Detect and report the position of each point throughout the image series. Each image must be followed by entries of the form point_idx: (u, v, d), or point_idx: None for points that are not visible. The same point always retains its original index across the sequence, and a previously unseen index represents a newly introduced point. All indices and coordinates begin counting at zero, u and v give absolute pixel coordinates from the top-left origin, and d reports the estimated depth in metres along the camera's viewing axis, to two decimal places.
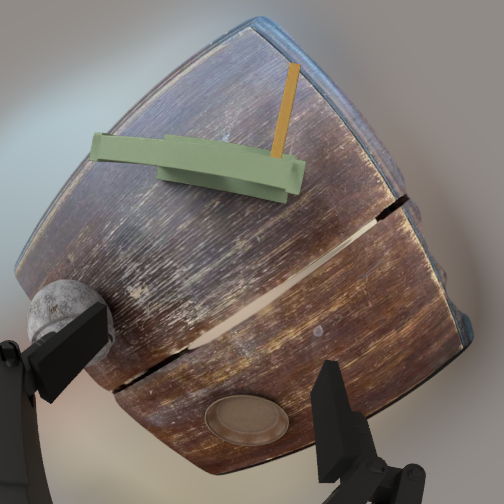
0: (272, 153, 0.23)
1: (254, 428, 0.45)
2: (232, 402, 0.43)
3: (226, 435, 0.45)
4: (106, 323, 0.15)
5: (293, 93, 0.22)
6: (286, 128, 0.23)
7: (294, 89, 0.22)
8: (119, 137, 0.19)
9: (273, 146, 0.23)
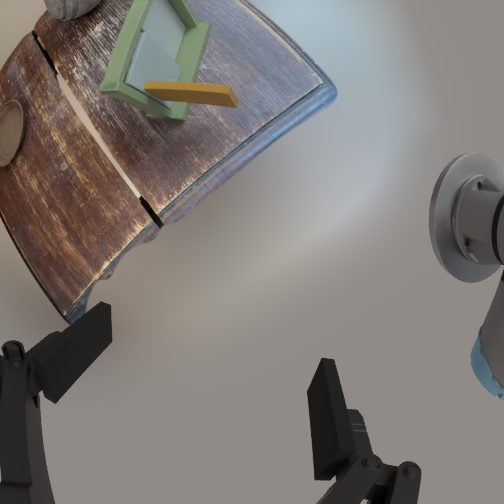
0: (151, 82, 0.25)
1: (2, 142, 0.39)
2: (20, 118, 0.37)
3: None
4: (110, 323, 0.15)
5: (199, 90, 0.25)
6: (169, 88, 0.25)
7: (202, 90, 0.25)
8: None
9: (156, 82, 0.25)
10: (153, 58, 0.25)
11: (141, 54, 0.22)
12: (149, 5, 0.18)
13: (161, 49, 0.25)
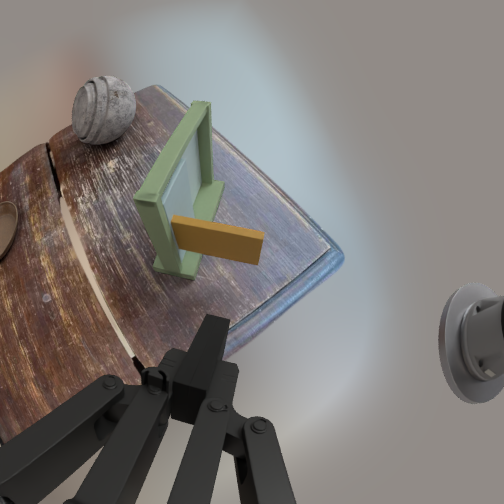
0: (179, 216, 0.29)
1: None
2: (11, 226, 0.39)
3: None
4: None
5: (232, 232, 0.29)
6: (199, 226, 0.29)
7: (236, 233, 0.29)
8: (201, 112, 0.30)
9: (185, 217, 0.29)
10: (183, 193, 0.31)
11: (177, 180, 0.28)
12: (193, 132, 0.29)
13: (189, 188, 0.33)
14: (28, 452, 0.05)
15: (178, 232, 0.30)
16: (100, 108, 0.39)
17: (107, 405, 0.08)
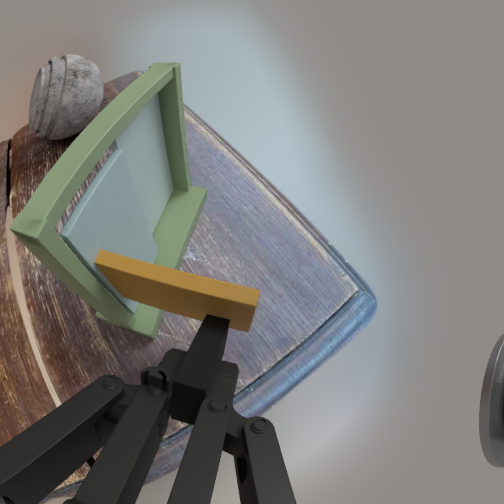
0: (109, 253, 0.15)
1: None
2: None
3: None
4: None
5: (198, 290, 0.15)
6: (140, 274, 0.15)
7: (205, 292, 0.15)
8: (161, 75, 0.16)
9: (118, 255, 0.15)
10: (122, 209, 0.17)
11: (103, 188, 0.14)
12: (141, 104, 0.15)
13: (137, 201, 0.19)
14: (28, 452, 0.05)
15: (112, 278, 0.16)
16: (53, 92, 0.26)
17: (107, 405, 0.08)
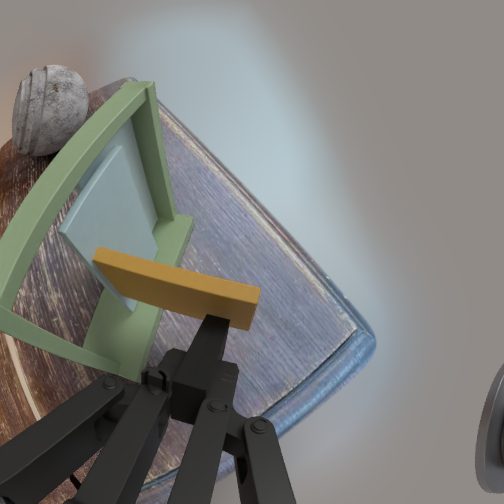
0: (107, 250, 0.15)
1: None
2: None
3: None
4: None
5: (197, 287, 0.14)
6: (138, 272, 0.14)
7: (205, 289, 0.14)
8: (129, 100, 0.14)
9: (116, 252, 0.15)
10: (121, 206, 0.17)
11: (102, 184, 0.14)
12: (104, 140, 0.13)
13: (136, 198, 0.19)
14: (28, 452, 0.05)
15: (110, 276, 0.16)
16: (33, 108, 0.23)
17: (107, 405, 0.08)
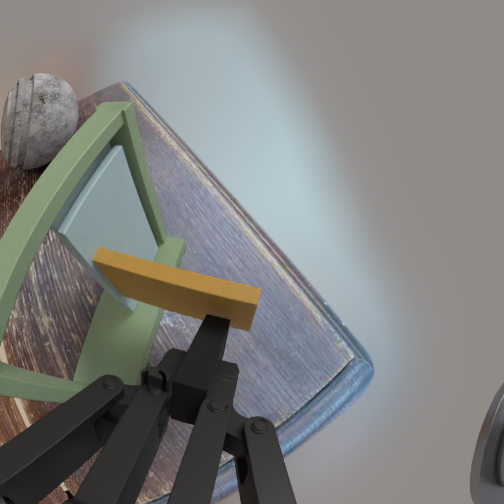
0: (107, 251, 0.15)
1: None
2: None
3: None
4: None
5: (197, 288, 0.14)
6: (138, 272, 0.14)
7: (205, 290, 0.14)
8: (103, 128, 0.12)
9: (116, 253, 0.15)
10: (121, 206, 0.17)
11: (101, 184, 0.14)
12: (75, 179, 0.11)
13: (137, 198, 0.19)
14: (28, 452, 0.05)
15: (111, 276, 0.16)
16: (19, 121, 0.22)
17: (107, 405, 0.08)
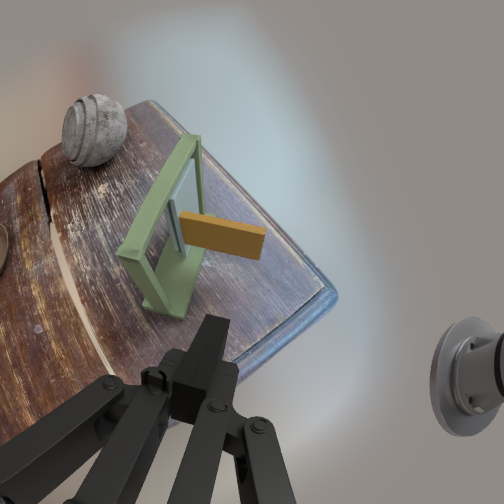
0: (187, 212, 0.31)
1: None
2: (2, 250, 0.37)
3: None
4: None
5: (236, 228, 0.31)
6: (206, 221, 0.31)
7: (240, 228, 0.31)
8: (190, 149, 0.29)
9: (192, 213, 0.31)
10: (190, 191, 0.33)
11: (186, 178, 0.30)
12: (181, 173, 0.28)
13: (196, 187, 0.35)
14: (28, 452, 0.05)
15: (185, 227, 0.33)
16: (89, 131, 0.38)
17: (107, 405, 0.08)
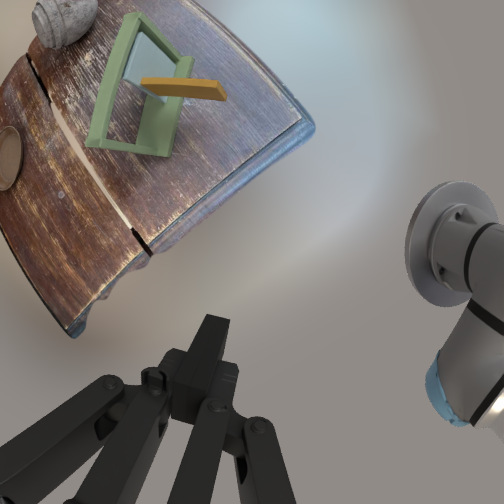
0: (147, 78, 0.27)
1: (2, 166, 0.42)
2: (18, 144, 0.41)
3: None
4: None
5: (190, 84, 0.27)
6: (163, 83, 0.27)
7: (193, 85, 0.27)
8: (131, 29, 0.21)
9: (151, 77, 0.27)
10: (149, 56, 0.26)
11: (137, 52, 0.24)
12: (126, 55, 0.22)
13: (157, 48, 0.27)
14: (28, 452, 0.05)
15: (150, 88, 0.29)
16: (56, 24, 0.24)
17: (107, 405, 0.08)
